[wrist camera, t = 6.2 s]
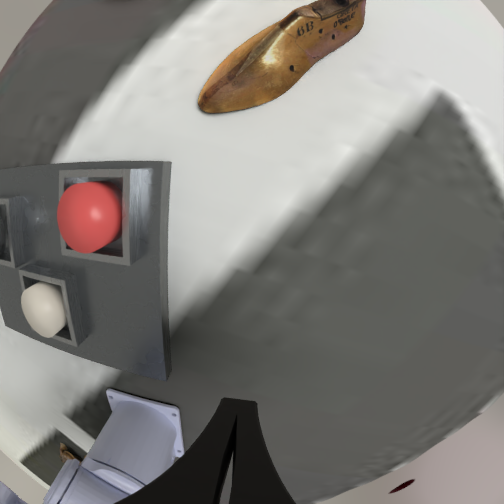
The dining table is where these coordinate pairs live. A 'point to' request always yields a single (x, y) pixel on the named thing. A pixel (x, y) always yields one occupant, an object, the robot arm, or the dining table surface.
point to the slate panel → (92, 263)
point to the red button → (90, 215)
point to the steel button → (2, 236)
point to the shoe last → (281, 55)
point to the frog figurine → (68, 454)
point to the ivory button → (44, 308)
